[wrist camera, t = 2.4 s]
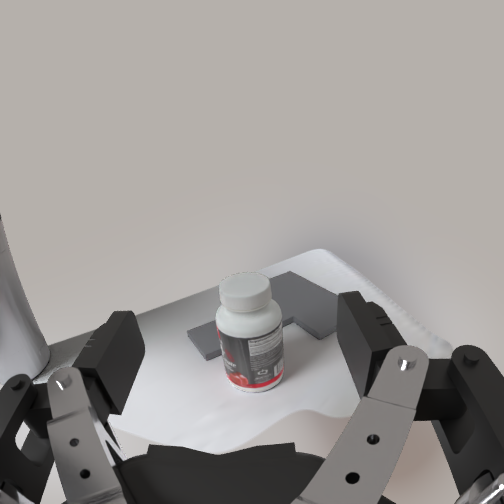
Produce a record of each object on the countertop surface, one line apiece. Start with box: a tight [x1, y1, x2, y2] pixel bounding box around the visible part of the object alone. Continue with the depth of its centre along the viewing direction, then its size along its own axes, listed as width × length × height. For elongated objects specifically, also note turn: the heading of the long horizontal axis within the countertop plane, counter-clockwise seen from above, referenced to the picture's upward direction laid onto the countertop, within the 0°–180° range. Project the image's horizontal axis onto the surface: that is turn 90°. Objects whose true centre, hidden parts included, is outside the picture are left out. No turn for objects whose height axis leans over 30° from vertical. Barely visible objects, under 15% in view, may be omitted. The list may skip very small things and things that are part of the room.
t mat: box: [187, 271, 338, 361], centre depth 35 cm, size 18×14×1 cm
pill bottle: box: [216, 272, 284, 393], centre depth 25 cm, size 5×5×10 cm
